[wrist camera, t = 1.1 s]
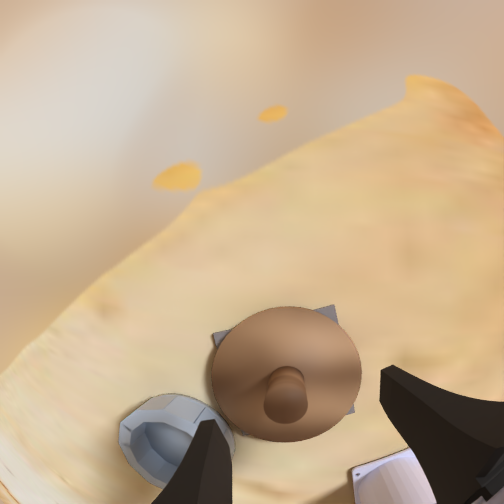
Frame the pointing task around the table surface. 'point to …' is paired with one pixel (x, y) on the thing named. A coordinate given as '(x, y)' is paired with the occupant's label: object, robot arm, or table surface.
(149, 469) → the bowl
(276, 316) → the lid
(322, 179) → the table surface
